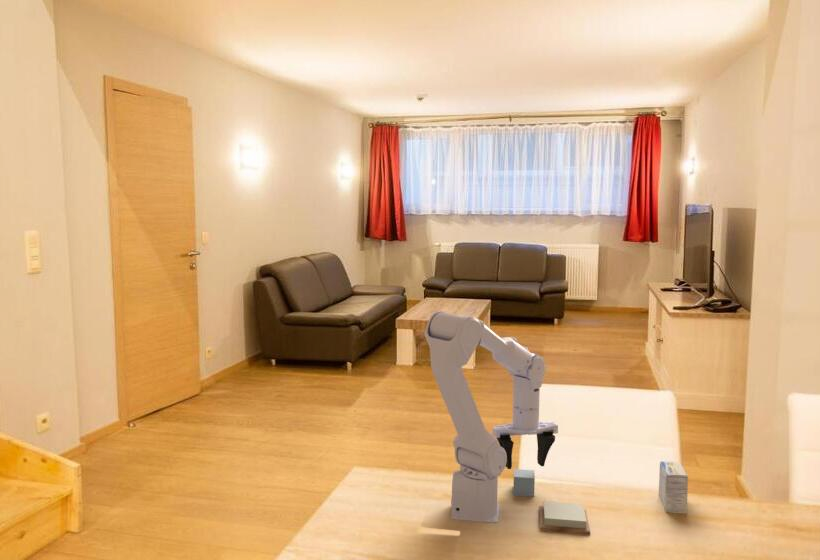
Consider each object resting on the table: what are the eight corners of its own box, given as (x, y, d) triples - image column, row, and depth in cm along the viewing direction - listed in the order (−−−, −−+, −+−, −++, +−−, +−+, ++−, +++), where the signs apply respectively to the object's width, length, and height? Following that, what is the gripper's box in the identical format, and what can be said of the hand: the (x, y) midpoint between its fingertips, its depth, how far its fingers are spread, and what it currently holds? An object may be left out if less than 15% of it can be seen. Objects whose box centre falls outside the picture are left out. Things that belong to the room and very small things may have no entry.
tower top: (544, 525, 131) (544, 518, 130) (543, 507, 138) (543, 500, 138) (586, 528, 129) (586, 521, 129) (582, 510, 137) (583, 503, 137)
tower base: (539, 534, 130) (540, 527, 130) (539, 512, 139) (539, 505, 139) (589, 538, 128) (590, 531, 128) (585, 516, 138) (585, 509, 138)
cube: (513, 496, 146) (513, 476, 145) (513, 488, 150) (514, 468, 150) (534, 498, 145) (534, 478, 144) (533, 489, 149) (534, 470, 149)
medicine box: (687, 516, 136) (689, 476, 135) (664, 514, 137) (666, 474, 136) (679, 500, 144) (681, 461, 143) (657, 498, 145) (659, 460, 144)
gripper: (500, 413, 140) (499, 475, 141) (564, 409, 143) (562, 470, 144) (489, 404, 147) (488, 463, 148) (551, 400, 150) (549, 458, 151)
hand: (524, 466), depth 147 cm, fingers open, 7 cm apart
